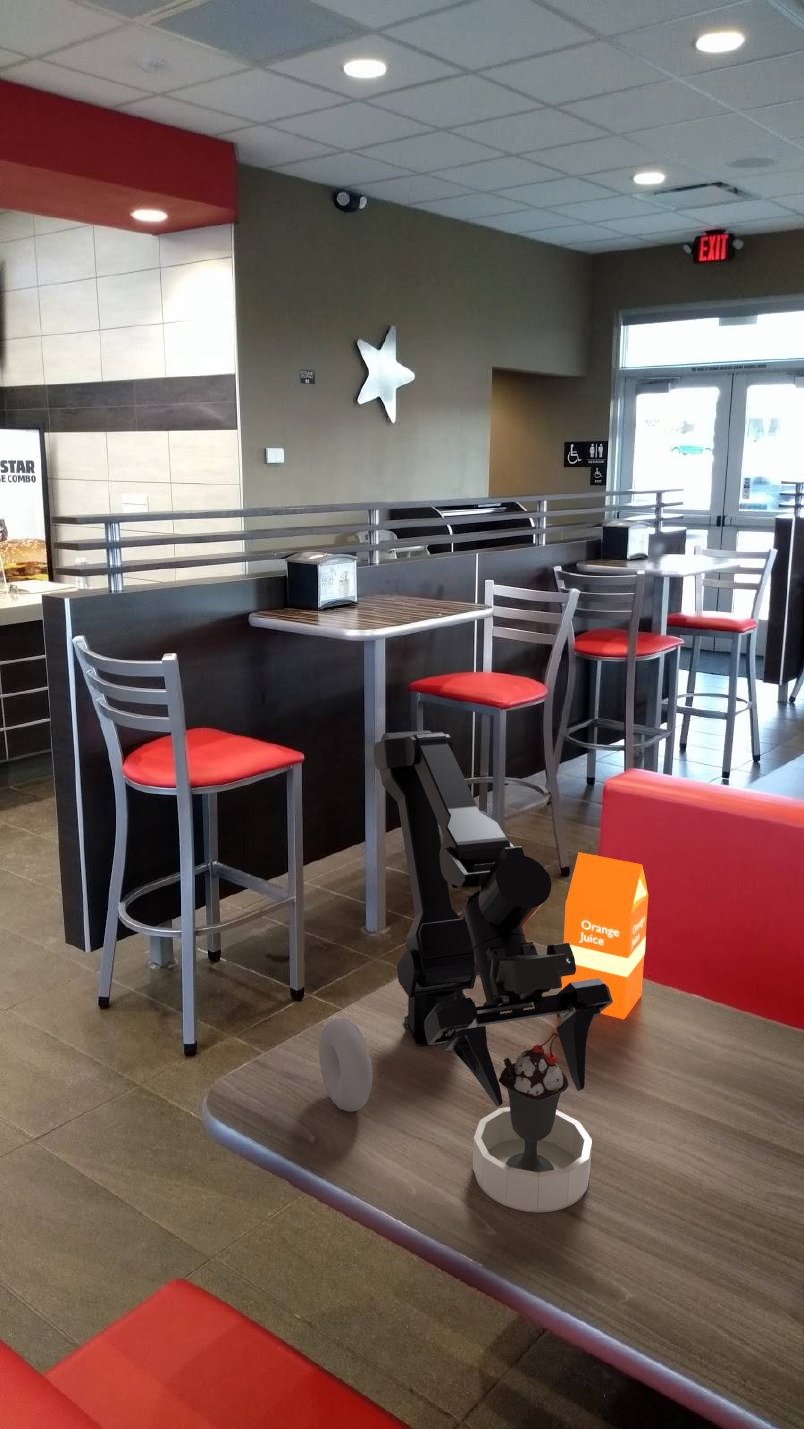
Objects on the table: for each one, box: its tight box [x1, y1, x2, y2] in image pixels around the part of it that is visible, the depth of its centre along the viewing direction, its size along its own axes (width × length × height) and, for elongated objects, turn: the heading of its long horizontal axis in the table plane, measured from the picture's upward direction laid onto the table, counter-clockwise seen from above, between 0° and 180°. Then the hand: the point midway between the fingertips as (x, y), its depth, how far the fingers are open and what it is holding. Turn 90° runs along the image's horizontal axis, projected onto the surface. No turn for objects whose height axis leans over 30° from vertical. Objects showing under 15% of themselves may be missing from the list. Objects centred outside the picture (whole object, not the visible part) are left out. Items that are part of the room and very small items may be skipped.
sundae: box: [498, 1031, 569, 1172], centre depth 106 cm, size 7×7×15 cm
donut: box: [318, 1017, 373, 1113], centre depth 118 cm, size 10×4×10 cm, turn 25°
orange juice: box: [560, 851, 649, 1020], centre depth 141 cm, size 8×9×20 cm
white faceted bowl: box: [472, 1106, 593, 1214], centre depth 108 cm, size 11×11×4 cm
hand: (540, 1097), depth 105 cm, fingers open, 8 cm apart
